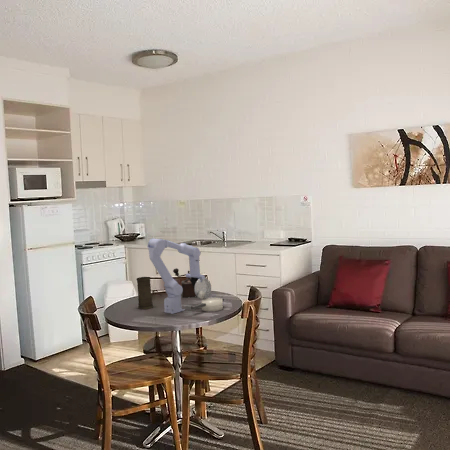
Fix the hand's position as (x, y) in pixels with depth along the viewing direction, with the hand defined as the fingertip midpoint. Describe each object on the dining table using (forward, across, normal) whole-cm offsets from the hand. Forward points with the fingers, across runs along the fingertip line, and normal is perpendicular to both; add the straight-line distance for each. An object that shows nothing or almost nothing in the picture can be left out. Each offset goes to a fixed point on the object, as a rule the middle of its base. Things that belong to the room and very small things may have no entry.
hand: (196, 290), depth 289 cm
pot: (+9, -13, +3) cm, 16 cm away
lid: (-2, -6, 0) cm, 7 cm away
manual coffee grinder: (+10, +27, -15) cm, 32 cm away
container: (+10, +25, +19) cm, 33 cm away
